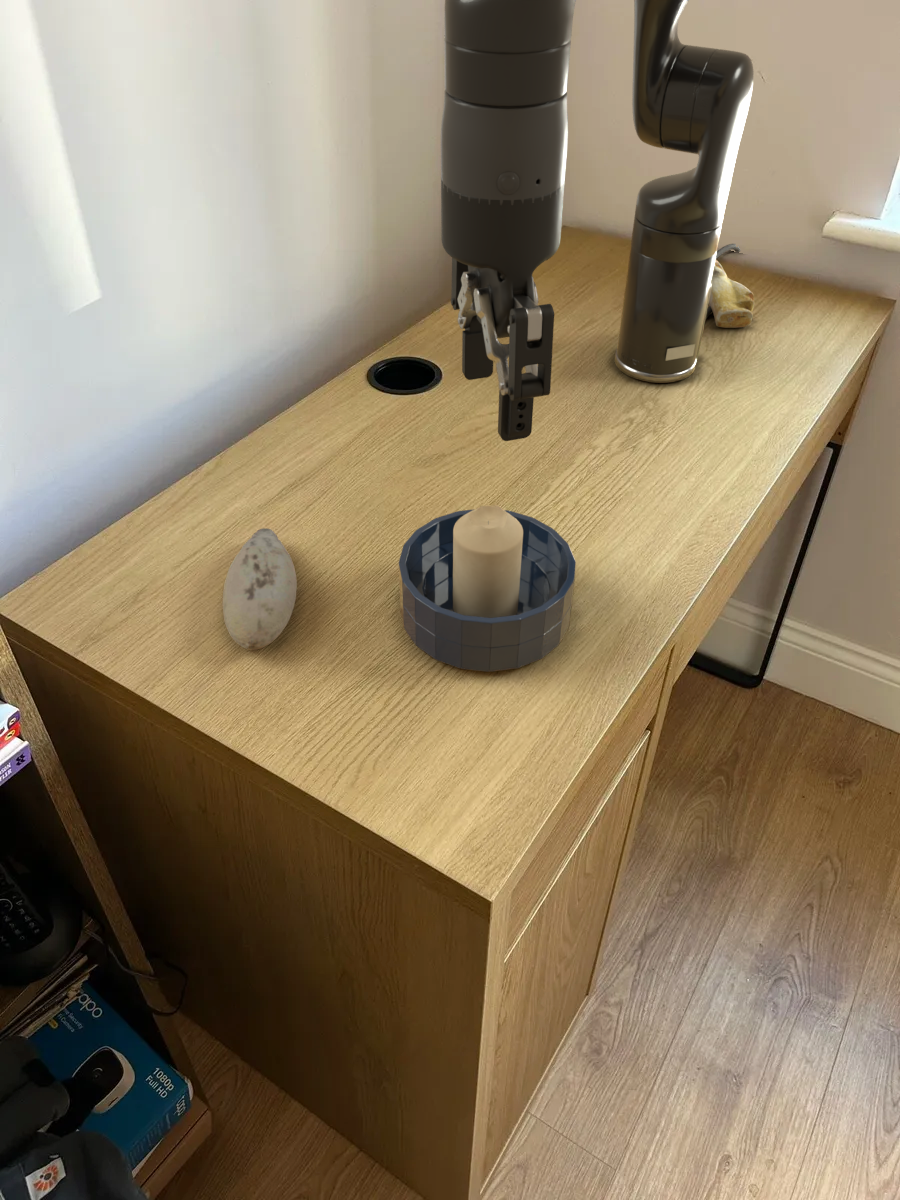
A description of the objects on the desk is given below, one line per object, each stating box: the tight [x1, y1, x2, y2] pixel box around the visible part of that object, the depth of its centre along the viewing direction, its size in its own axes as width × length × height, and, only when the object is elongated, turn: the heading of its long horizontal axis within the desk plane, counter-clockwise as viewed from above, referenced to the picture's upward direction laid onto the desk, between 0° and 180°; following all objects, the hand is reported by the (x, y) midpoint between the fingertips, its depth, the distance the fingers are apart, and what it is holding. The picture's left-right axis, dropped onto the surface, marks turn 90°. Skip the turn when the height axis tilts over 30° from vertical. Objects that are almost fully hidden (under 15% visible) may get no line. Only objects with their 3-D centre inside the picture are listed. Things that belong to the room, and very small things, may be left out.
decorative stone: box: [222, 527, 298, 651], centre depth 82 cm, size 6×16×3 cm, turn 7°
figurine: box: [708, 258, 756, 329], centre depth 125 cm, size 5×5×15 cm
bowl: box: [398, 508, 577, 673], centre depth 80 cm, size 14×14×6 cm
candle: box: [453, 504, 523, 618], centre depth 78 cm, size 6×6×10 cm
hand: (495, 405), depth 69 cm, fingers open, 8 cm apart
